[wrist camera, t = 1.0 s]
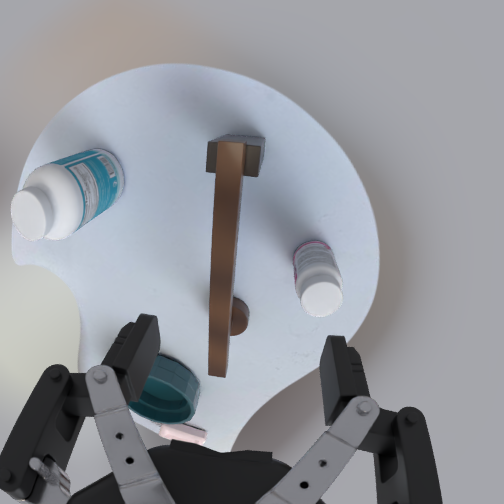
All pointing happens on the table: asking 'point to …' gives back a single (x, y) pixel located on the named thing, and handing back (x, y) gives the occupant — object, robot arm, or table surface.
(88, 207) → the pill bottle
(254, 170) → the dark grey rubber eraser
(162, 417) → the bowl
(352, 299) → the table surface
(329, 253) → the pill bottle
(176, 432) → the soap bar
